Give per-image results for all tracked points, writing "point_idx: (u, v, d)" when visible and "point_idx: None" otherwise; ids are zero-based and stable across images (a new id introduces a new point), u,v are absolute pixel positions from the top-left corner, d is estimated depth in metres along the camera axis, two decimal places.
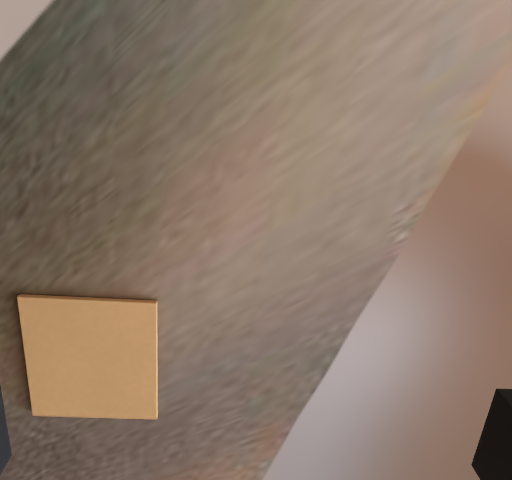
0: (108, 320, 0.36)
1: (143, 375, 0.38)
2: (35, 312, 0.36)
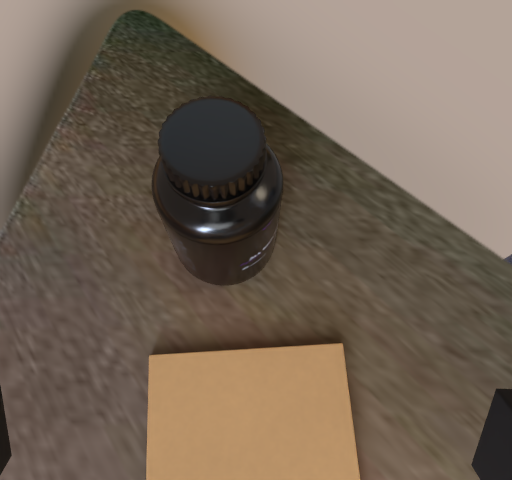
0: (327, 472, 0.25)
1: None
2: (323, 366, 0.27)
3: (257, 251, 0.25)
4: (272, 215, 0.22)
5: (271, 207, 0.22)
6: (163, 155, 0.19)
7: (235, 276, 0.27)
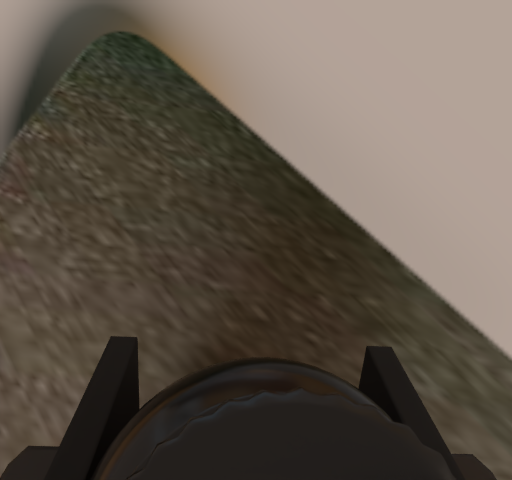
0: None
1: None
2: None
3: None
4: None
5: None
6: None
7: None
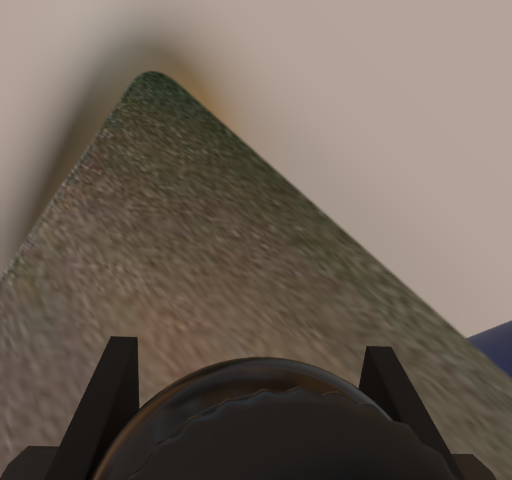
0: None
1: None
2: None
3: None
4: None
5: None
6: None
7: None
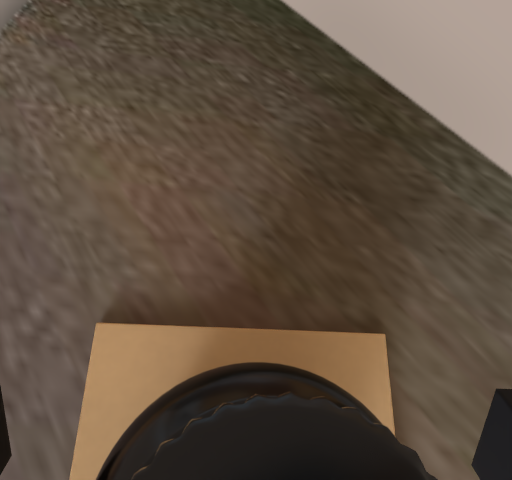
0: None
1: None
2: (356, 364, 0.18)
3: None
4: None
5: None
6: None
7: None
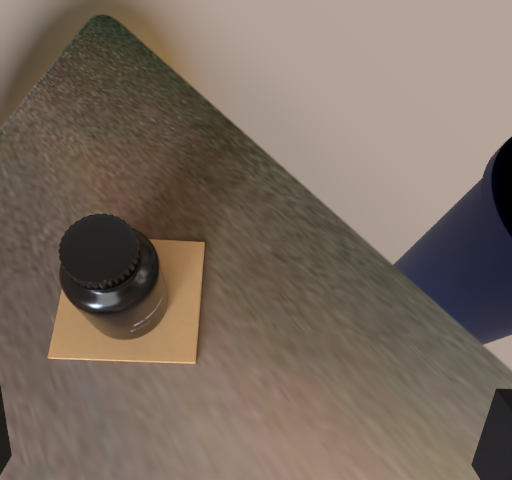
0: (178, 315, 0.38)
1: (109, 345, 0.37)
2: (188, 254, 0.41)
3: (139, 320, 0.33)
4: (145, 298, 0.30)
5: (143, 294, 0.30)
6: (60, 255, 0.27)
7: (126, 335, 0.35)
